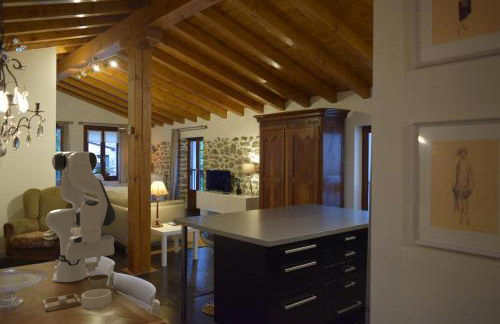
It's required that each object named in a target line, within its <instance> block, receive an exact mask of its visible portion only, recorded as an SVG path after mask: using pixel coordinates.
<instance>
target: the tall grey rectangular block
mask: <svg viewBox="0 0 500 324" xmlns="http://www.w3.org/2000/svg"><path fill="white" fill-rule="evenodd" d="M95 262H96V261H86V264H87V268H86V271H87V273H88V272H94V271H96V267H95Z"/></svg>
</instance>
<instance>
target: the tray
mask: <svg viewBox="0 0 500 324" xmlns="http://www.w3.org/2000/svg"><path fill="white" fill-rule="evenodd" d="M60 296H61V295H59V296H52V297H47V298H43V299H41V304H42V306H43V309H44V311H45V312H50V311H56V310H60V309H65V308H70V307H75V306H82V305H81V298H79V296H78V295H77V293H76V292H74V293H70V294H64V295H62V296H66V298H67V303H63V304H58V297H60Z"/></svg>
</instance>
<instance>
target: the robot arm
mask: <svg viewBox="0 0 500 324" xmlns="http://www.w3.org/2000/svg"><path fill="white" fill-rule="evenodd" d="M97 164H98V158H97V155H96V153H94V152H91V151H81V150H79V151H78V150H75V151H58V152H55V153H54V154H53V157H52V158H51V165H52V167H53V169H54V171H57V172H61V177H60V198H61V199H62V200H63V201H65V202H67V203H69V204H71V205H72V207H70V208H59V209H58V208H57V209H54V210H50V211H49V212H48V213H47V214H46V217H45V224H46V226H47V227H48V228H49V229H50V230H51V231H53V232H54V233H55V234H56V235H57V237H58V239H59V244H60V245H59V246H60V253H59V262H58V264H57V265H56V266H54V267H53V268H54V269H53V270H54V273H53V277H52V280H51V281H52V282H56V283H57V282H59V283H73V282H78V281H80V280H84V279H85V278H89V277H90V276H91V275H90V274H91V273H88V271H86V268H87V264H86V263H87V261H86V259H91V258H96V260H95V261H94V262H95V268H97V267H99V262H100V261H101V257H107V256H113V255H114V253H115V246H114V243H115V237H114V235H111V234H108V235H106V234H105V235H102V227H110V226H111V225H112V224H113V223H114V222H116V212H115V208H114V207H113V205H112V204H111V200H110V198H109V196H108V194H107V191H106V188H105V186H104V184H103V181H102V180H101V179H99V178H98V177H96V175H95V174H94V172H93V170H95V169H97V168H96V167H97ZM84 191H87V192H90V193H93V194H94V195H95V196H96V197H97V200H98V201H97V200H85V196H84ZM78 228H79V233H78V234H76V233H74V232H72V229H78Z"/></svg>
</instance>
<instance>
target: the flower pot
mask: <svg viewBox="0 0 500 324" xmlns="http://www.w3.org/2000/svg"><path fill="white" fill-rule="evenodd" d="M109 277H110V275H108V274H105V273H104V274H103V273H101V274H94V275H90V276H88V277H87V279H88V282H89V284H90V290H94V289H107V285H108V281H109Z"/></svg>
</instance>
